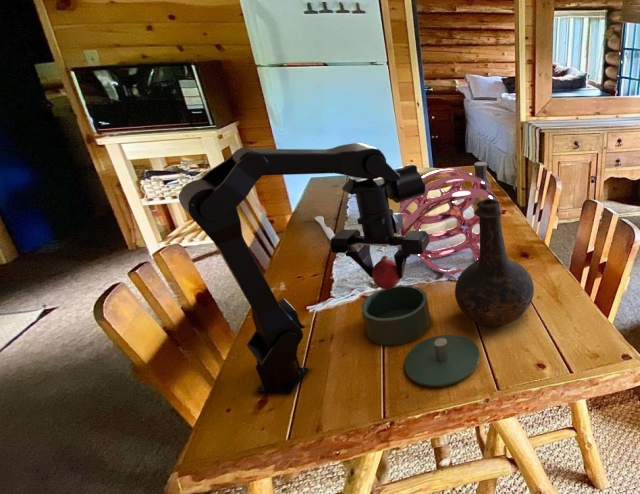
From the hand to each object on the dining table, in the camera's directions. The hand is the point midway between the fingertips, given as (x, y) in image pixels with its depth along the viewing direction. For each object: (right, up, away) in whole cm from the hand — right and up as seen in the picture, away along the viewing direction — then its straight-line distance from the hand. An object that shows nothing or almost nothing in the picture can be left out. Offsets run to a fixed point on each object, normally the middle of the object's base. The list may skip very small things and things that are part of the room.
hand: (387, 277), depth 93 cm
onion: (0, -3, +1) cm, 3 cm away
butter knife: (-38, +12, +51) cm, 65 cm away
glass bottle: (+22, -9, +9) cm, 26 cm away
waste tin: (+1, -11, +5) cm, 13 cm away
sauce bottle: (+13, +16, +58) cm, 62 cm away
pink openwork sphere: (+8, +2, +33) cm, 34 cm away
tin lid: (+13, -16, -6) cm, 21 cm away
